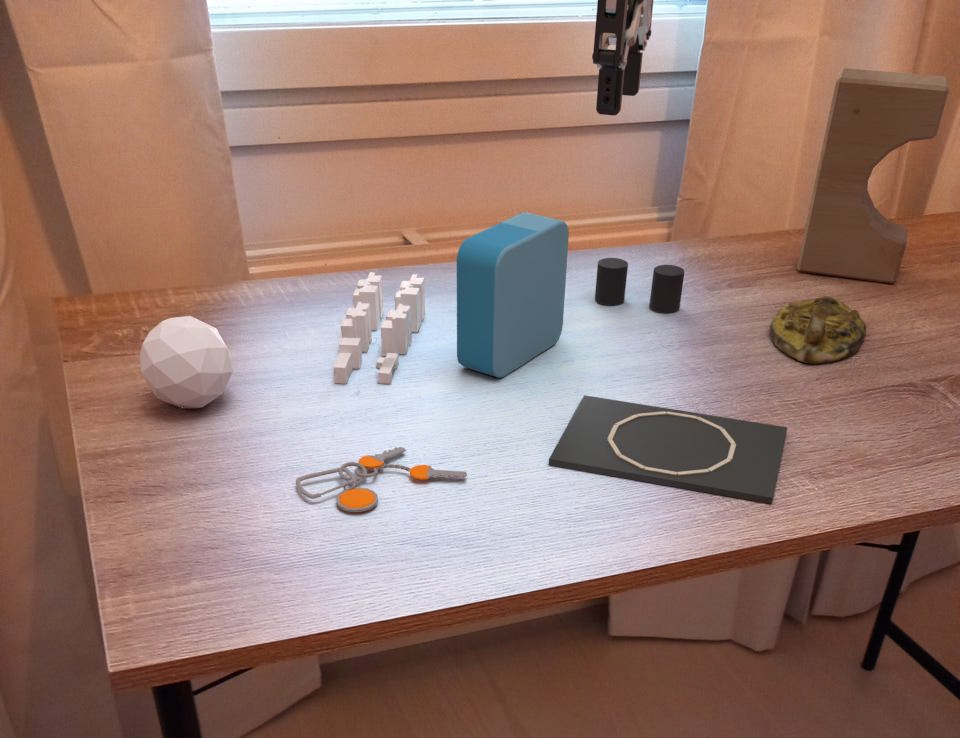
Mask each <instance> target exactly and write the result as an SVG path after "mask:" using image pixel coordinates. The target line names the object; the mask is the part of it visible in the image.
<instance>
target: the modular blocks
mask: <svg viewBox="0 0 960 738" xmlns="http://www.w3.org/2000/svg"><path fill="white" fill-rule="evenodd" d="M398 289H399V290H396V294H395V295H394V309H388V312H387V314H386V315H385V319H383V315H384V313H385V312H384V311H385V310H384V292H383V291H384V290H383V276H382V275H376V272H375V271H369V274H368V276H367V278H365V279H364V278H360V279H359V280H358V283H357V285H356V288H355V289H354V292H353V294H352V302H353V307H348V308H347V311H346V313H345V317H344V318H343V319H342V322H341V324H340V331H341V339H340V342H339V343H338V348H339V353H338V355H337V358H336V360H335V363H334V365H333V368H332V369H333V378H334V380H333V381H334V384H348V381H349V378H350V375H351V374H352V370H353V369H354V370H355V369H356V370H360V368H361V366H362V363H363V357H362V356H363V355H362V353H368V351H369V348H370V346H369V345H370V344H371V343H372V339H373V338H372V337H373V336H372V331H378V330H379V326H380V343H381V344H380V345H381V347H379V348H378V353H380V350H381V356H383V357H378V359H377V360H376V365H375V367H376V368H378V369H379V370H378V372H377V375H378V376H377V377H378V384H386V385H391V383H392V381H393V375H394V374H395V372H394V371H395V370H397V369H398V367H399V366H400V365H399V363H400V359H399V355H407V354H408V351H409V347H411V345H412V341H413V340H412V333H419V330H420V328H421V323H422V322H424V319H425V317H426V293H425V277H419V275H418V274H417V273H412V275H411V276H410V279H409V280H407V281H406V280H402V282H401V283H400V285H399V287H398ZM382 319H383V321H382V323H381V322H380V320H382ZM376 342H377V340H375V342H374V343H372V345H375V343H376ZM359 393H361V391H360V390H359V391H358V390H357V391H355V392H354V395H357V394H359Z"/></svg>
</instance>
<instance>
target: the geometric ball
mask: <svg viewBox="0 0 960 738" xmlns="http://www.w3.org/2000/svg"><path fill="white" fill-rule="evenodd" d="M138 357H139V367H140V368H139V370H140V374H141V376H142V377H143V379H144V380H145V382H146V383H147V385H148V387H149V389H150V390H151V392H152V393H153V395H154V397H155V398H156V399H158V400H161V401H163V402H165V403H168V404H170V405H173V406H175V407H177V406H178V408H180V407H181V408H180V409H182V407H183V408H187V409H201V408H203V407H206V405H208V404H210V403H212V401H214V400H215V399H218V398H219V397H220V396H222V395H224V392H225V390H226V388H227V386H228V383H229V381H230V379H231V377H232V374H233V372H234V370H233V363H232V355H231V352H230V350H229V348H228V347H227V344H226V343H225V341H224V339H223V338H222V336H221V334H220V332H219V331H218V329H217V328H216V327H215V326H212V325H211V324H208V323H207V322H204V321H202V320H200V319H197V318H196V317H194V316H192V315H185V316H176V317H169V318H167V319H164V320H162V321H160V322H159V323H158V324H157V325H156V326H154V327H153V328H152V329H151V330H150V331H149V332H148V334H147V335H146V337H145V338H144V340H143V342H142V344H141V348H140V352H139V355H138Z"/></svg>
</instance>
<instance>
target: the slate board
mask: <svg viewBox="0 0 960 738" xmlns="http://www.w3.org/2000/svg"><path fill="white" fill-rule="evenodd" d="M787 432H788V427H787V426H783V425H776V424H770V423H763V422H757V421H750V420H744V419H739V418H731V417H724V416H719V415H713V414H712V415H711V414H706V413H699V412H692V411H686V410H680V409H674V408H669V407H668V408H667V407H661V406H655V405H649V404H642V403H635V402H629V401H623V400H616V399H611V398H604V397H599V396H592V395H586V394H584V395H583V396H582V398H581V400H580V402H579V403H578V405H577V407H576V409H575V411H574V412H573V415H572V416H571V418H570V420H569V421H568V424H567V426H566V427H565V429H564V431H563V432H562V434H561V436H560V438H559V440H558V442H557V443H556V445H555V447H554V449H553V451H552V453H551V455H550V456H549V458H548V465H549V466H554V467H558V468H565V469H570V470H576V471H581V472H588V473H592V474H599V475H604V476H610V477H615V478H621V479H627V480H633V481H638V482H644V483H648V484H649V483H650V484H656V485H662V486H667V487H672V488H679V489H683V490H690V491H695V492H699V493H701V492H702V493H707V494H713V495H718V496H723V497H728V498H729V497H730V498H735V499H741V500H746V501H753V502H758V503H762V504H770V505H772V504H773V502H774V501H773V500H774V495H775V490H776V485H777V481H778V476H779V472H780V467H781V462H782V456H783V451H784V446H785V442H786V437H787Z"/></svg>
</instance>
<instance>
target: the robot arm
mask: <svg viewBox="0 0 960 738" xmlns="http://www.w3.org/2000/svg"><path fill="white" fill-rule="evenodd" d="M653 9H654V0H597V3H596V15H595V17H596V18H595V29H594V38H593V39H594V40H593V52H592V54H591V56H592V57H591V59H592V64H593V65H596V68H597V69H598V79H597V91H596V92H597V93H596V106H595V111H596V113H598V114H599V115H603V116H604V115H605V116H613V117H614V116H617V115H618V114H619V113H621V110H622V101H623V96H627V97H628V96H629V97H635V96H636V95H637V94H638V93H639V92H640V85H641V75H642V65H643V54H644V53H643V52H645V51H646V48H647V46H648V41H650V38H651V36H652V20H653V19H652V18H653ZM609 46H615V49H608V48H609Z"/></svg>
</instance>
